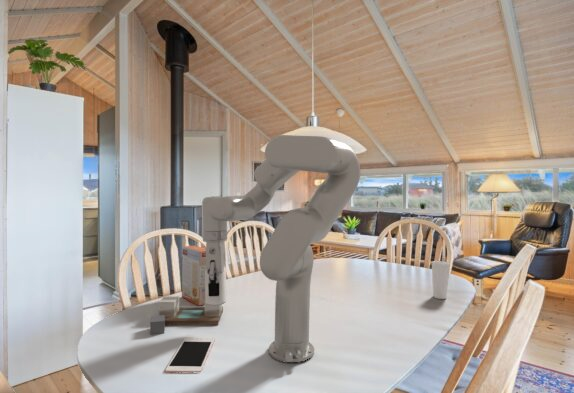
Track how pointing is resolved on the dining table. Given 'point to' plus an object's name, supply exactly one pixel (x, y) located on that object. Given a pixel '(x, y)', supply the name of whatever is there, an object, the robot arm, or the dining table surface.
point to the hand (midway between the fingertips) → (215, 292)
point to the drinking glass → (440, 279)
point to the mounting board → (188, 312)
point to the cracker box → (194, 274)
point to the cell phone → (191, 355)
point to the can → (222, 289)
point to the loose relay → (157, 324)
